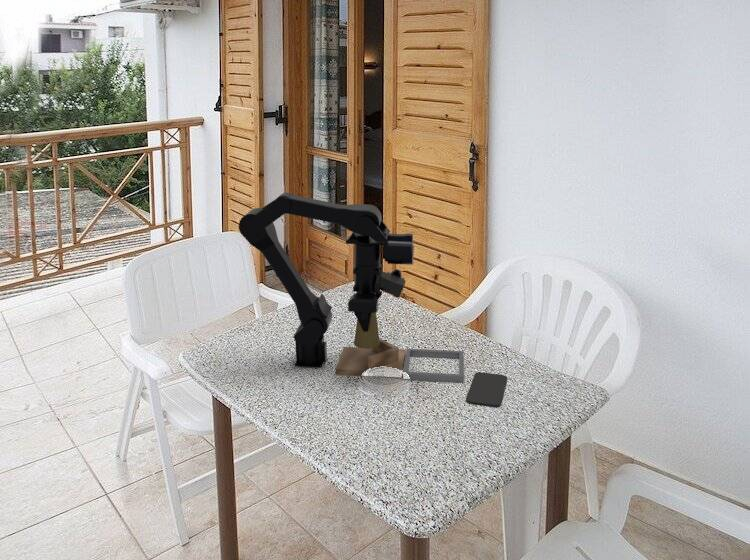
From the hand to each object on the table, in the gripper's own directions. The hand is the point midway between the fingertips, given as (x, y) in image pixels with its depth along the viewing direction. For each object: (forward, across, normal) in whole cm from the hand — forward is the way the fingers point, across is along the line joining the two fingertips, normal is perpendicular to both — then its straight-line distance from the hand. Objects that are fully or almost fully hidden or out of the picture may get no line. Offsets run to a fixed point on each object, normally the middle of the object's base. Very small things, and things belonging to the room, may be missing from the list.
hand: (366, 327), depth 165 cm
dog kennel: (+9, 0, 0) cm, 9 cm away
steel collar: (+9, 0, -16) cm, 18 cm away
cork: (+4, 0, 0) cm, 4 cm away
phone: (+10, -10, -28) cm, 31 cm away
